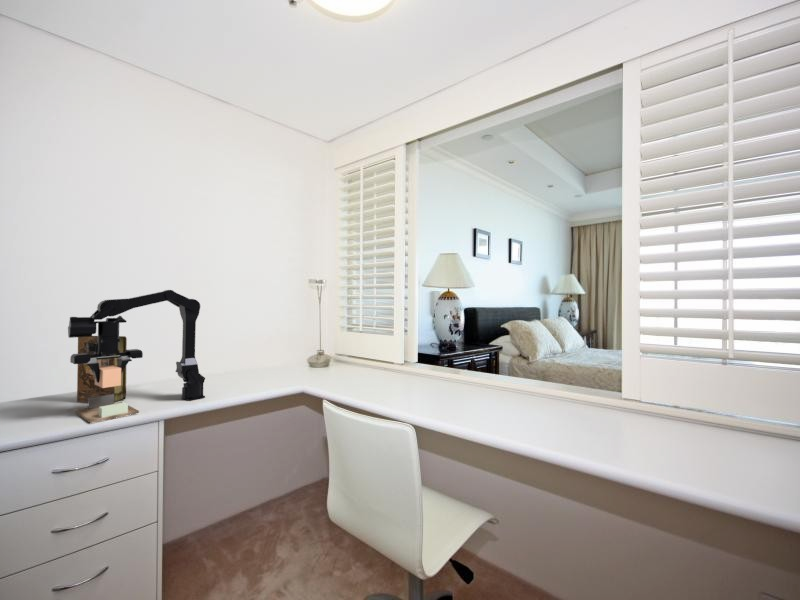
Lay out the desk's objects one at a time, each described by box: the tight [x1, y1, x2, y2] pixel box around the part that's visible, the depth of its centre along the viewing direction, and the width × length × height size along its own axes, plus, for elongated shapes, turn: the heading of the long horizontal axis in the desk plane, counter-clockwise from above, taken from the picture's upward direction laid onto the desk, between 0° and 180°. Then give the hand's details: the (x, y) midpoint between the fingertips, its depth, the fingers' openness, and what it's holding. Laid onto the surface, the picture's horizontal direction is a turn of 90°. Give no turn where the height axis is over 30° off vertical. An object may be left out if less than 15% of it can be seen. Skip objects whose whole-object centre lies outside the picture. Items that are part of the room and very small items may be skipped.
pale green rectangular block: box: [99, 401, 129, 418], centre depth 119 cm, size 7×3×3 cm, turn 143°
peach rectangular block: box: [95, 365, 121, 388], centre depth 124 cm, size 5×9×6 cm, turn 53°
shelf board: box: [75, 401, 140, 424], centre depth 124 cm, size 13×18×1 cm
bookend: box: [86, 394, 115, 409], centre depth 128 cm, size 7×2×4 cm, turn 143°
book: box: [76, 335, 128, 404], centre depth 138 cm, size 16×6×25 cm, turn 84°
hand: (107, 381), depth 124 cm, fingers closed on peach rectangular block, 5 cm apart
